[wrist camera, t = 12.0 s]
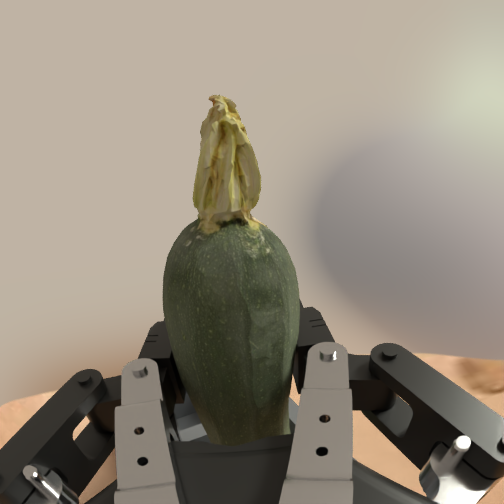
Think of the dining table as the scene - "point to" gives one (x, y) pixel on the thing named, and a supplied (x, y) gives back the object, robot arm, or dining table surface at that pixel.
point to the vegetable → (232, 295)
